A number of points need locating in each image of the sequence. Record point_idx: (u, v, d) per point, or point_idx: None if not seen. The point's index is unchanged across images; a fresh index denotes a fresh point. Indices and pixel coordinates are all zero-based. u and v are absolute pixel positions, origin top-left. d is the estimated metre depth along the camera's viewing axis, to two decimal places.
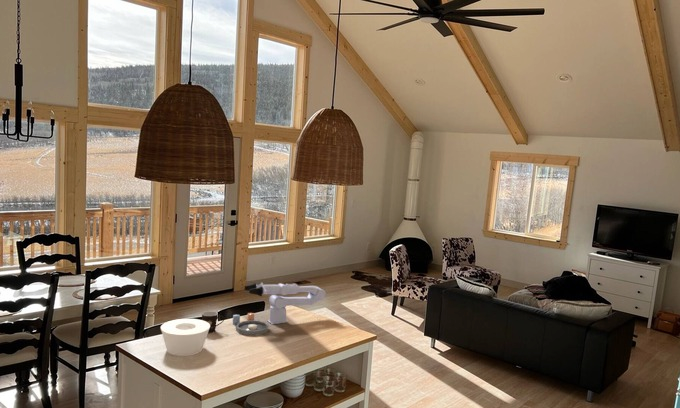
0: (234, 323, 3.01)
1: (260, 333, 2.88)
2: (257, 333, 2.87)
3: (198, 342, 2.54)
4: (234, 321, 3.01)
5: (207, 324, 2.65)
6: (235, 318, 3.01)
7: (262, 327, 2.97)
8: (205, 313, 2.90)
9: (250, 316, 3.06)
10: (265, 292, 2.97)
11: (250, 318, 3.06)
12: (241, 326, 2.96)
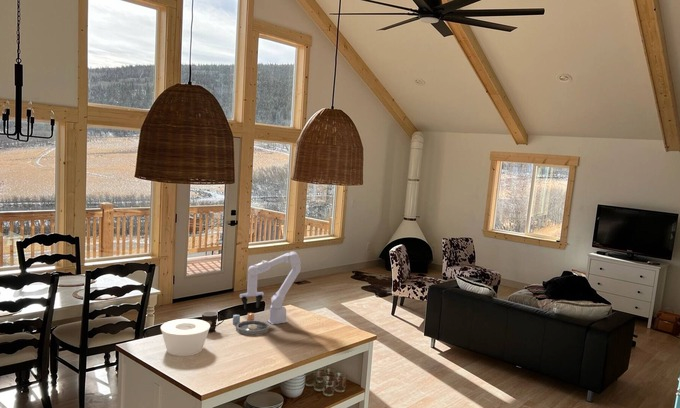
0: (234, 323, 3.01)
1: (260, 333, 2.88)
2: (257, 333, 2.87)
3: (198, 342, 2.54)
4: (234, 321, 3.01)
5: (207, 324, 2.65)
6: (235, 318, 3.01)
7: (262, 327, 2.97)
8: (205, 313, 2.90)
9: (250, 316, 3.06)
10: (240, 295, 3.03)
11: (250, 318, 3.06)
12: (241, 326, 2.96)
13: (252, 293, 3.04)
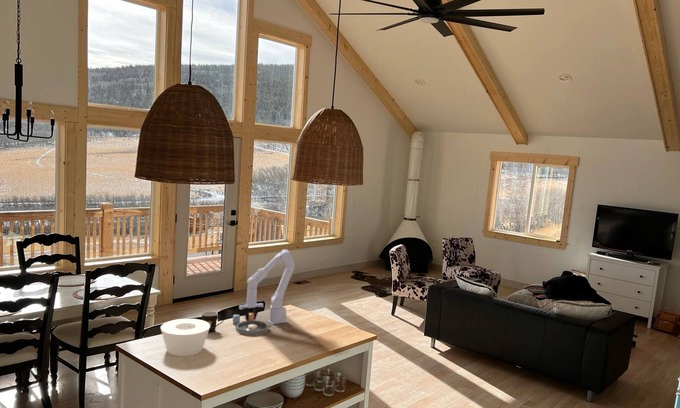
0: (234, 323, 3.01)
1: (260, 333, 2.88)
2: (257, 333, 2.87)
3: (198, 342, 2.54)
4: (234, 321, 3.01)
5: (207, 324, 2.65)
6: (235, 318, 3.01)
7: (262, 327, 2.97)
8: (205, 313, 2.90)
9: (250, 316, 3.06)
10: (239, 307, 3.03)
11: (250, 318, 3.06)
12: (241, 326, 2.96)
13: (251, 305, 3.04)
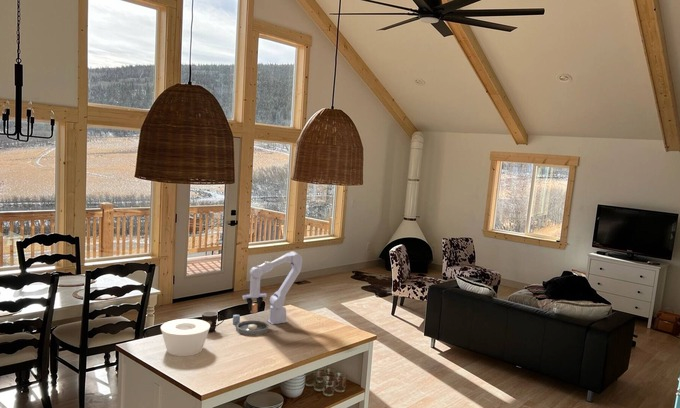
0: (234, 323, 3.01)
1: (260, 333, 2.88)
2: (257, 333, 2.87)
3: (198, 342, 2.54)
4: (234, 321, 3.01)
5: (207, 324, 2.65)
6: (235, 318, 3.01)
7: (262, 327, 2.97)
8: (205, 313, 2.90)
9: (253, 306, 3.02)
10: (242, 297, 3.00)
11: (253, 308, 3.02)
12: (241, 326, 2.96)
13: (255, 295, 3.01)
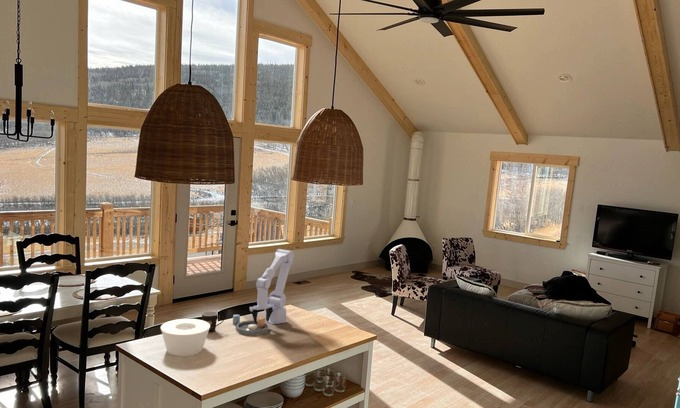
0: (234, 323, 3.01)
1: (260, 333, 2.88)
2: (257, 333, 2.87)
3: (198, 342, 2.54)
4: (234, 321, 3.01)
5: (207, 324, 2.65)
6: (235, 318, 3.01)
7: None
8: (205, 313, 2.90)
9: (261, 321, 2.95)
10: (250, 308, 2.92)
11: (261, 323, 2.95)
12: (241, 326, 2.96)
13: (262, 306, 2.94)
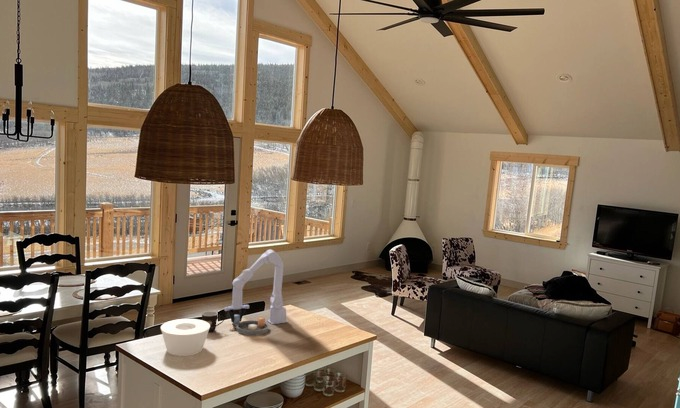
0: (234, 323, 3.01)
1: (260, 333, 2.88)
2: (257, 333, 2.87)
3: (198, 342, 2.54)
4: (234, 321, 3.01)
5: (207, 324, 2.65)
6: (235, 318, 3.01)
7: None
8: (205, 313, 2.90)
9: (261, 321, 2.95)
10: (224, 308, 2.99)
11: (261, 323, 2.95)
12: (241, 326, 2.96)
13: (237, 306, 3.00)
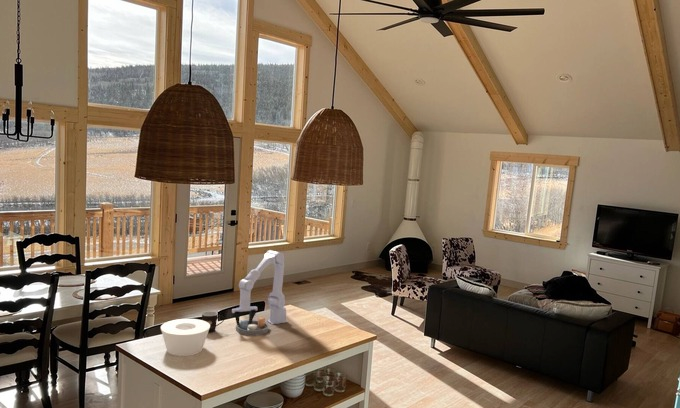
0: (242, 328, 2.90)
1: (260, 333, 2.88)
2: (257, 333, 2.87)
3: (198, 342, 2.54)
4: (242, 326, 2.90)
5: (207, 324, 2.65)
6: (243, 323, 2.90)
7: None
8: (205, 313, 2.90)
9: (261, 321, 2.95)
10: (232, 310, 2.87)
11: (261, 323, 2.95)
12: None
13: (245, 308, 2.88)
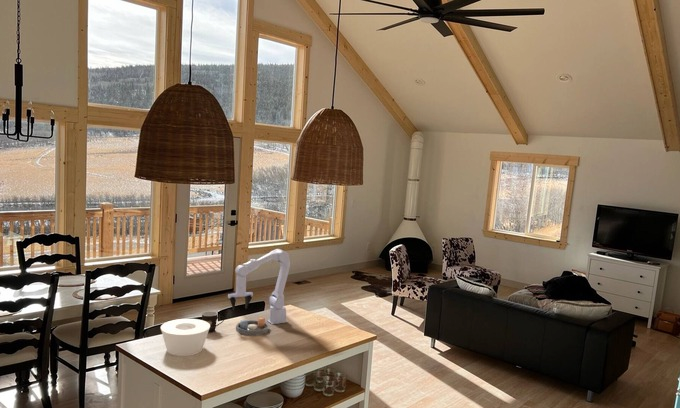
0: (242, 328, 2.90)
1: (260, 333, 2.88)
2: (257, 333, 2.87)
3: (198, 342, 2.54)
4: (242, 326, 2.90)
5: (207, 324, 2.65)
6: (243, 323, 2.90)
7: None
8: (205, 313, 2.90)
9: (261, 321, 2.95)
10: (228, 296, 2.93)
11: (261, 323, 2.95)
12: None
13: (241, 293, 2.94)
